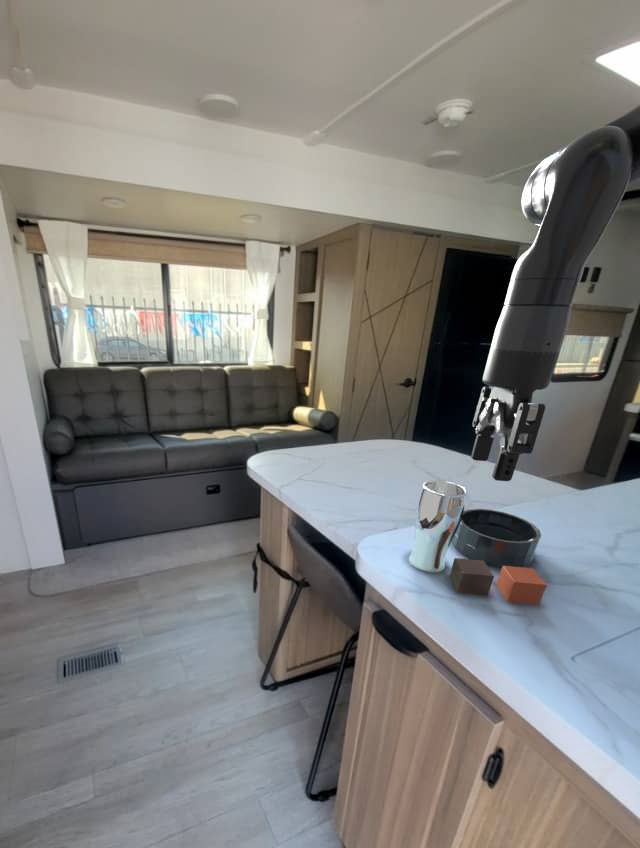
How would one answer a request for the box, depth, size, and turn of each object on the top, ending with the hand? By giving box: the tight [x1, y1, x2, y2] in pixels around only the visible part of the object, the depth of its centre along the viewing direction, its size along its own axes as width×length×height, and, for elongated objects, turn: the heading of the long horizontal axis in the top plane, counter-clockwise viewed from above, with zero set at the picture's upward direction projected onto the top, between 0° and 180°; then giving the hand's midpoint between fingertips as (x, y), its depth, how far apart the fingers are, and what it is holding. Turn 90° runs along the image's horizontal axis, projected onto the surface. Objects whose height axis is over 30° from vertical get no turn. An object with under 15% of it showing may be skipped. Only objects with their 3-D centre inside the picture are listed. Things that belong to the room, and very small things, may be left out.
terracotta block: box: [495, 566, 548, 606], centre depth 63 cm, size 4×4×4 cm
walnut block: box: [449, 557, 495, 597], centre depth 64 cm, size 4×4×4 cm
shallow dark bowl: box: [451, 508, 542, 569], centre depth 75 cm, size 13×13×6 cm
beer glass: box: [408, 480, 468, 573], centre depth 68 cm, size 7×7×15 cm
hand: (489, 469), depth 58 cm, fingers open, 8 cm apart
